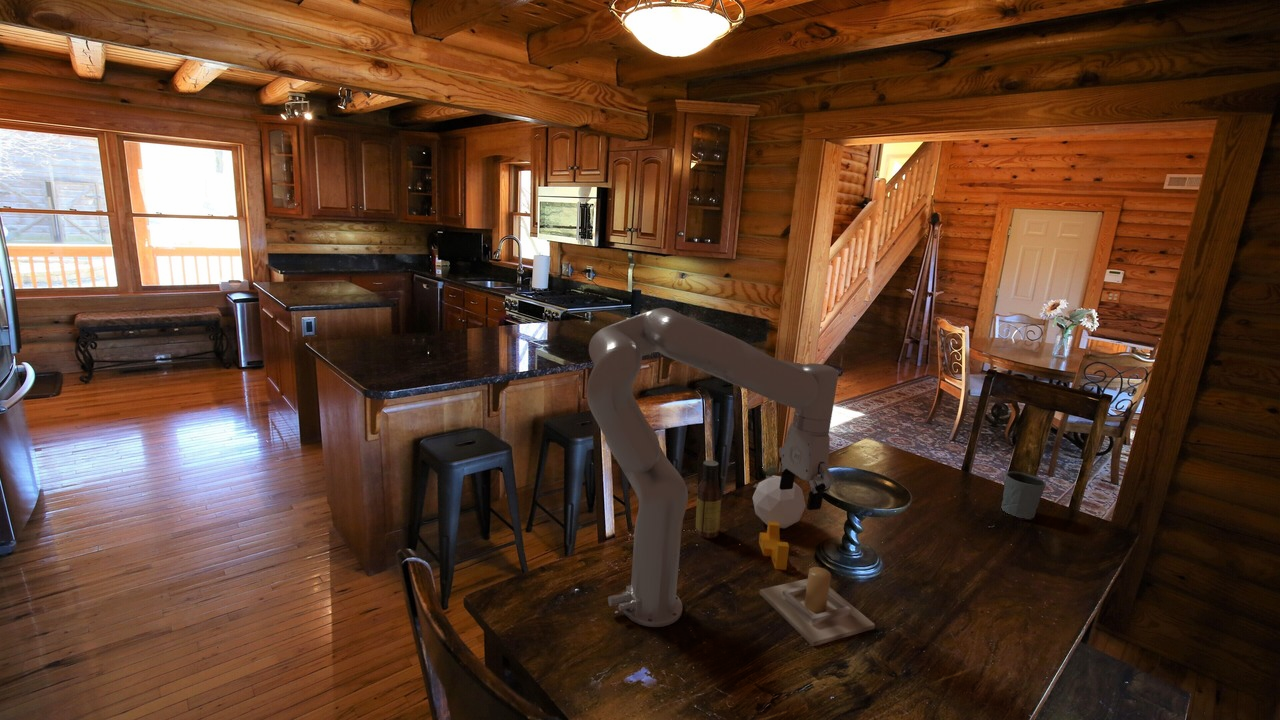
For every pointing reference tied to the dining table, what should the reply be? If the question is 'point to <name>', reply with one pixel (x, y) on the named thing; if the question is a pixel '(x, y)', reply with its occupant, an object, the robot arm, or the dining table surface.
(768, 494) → the geodesic sphere
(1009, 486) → the gray cup
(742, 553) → the dining table surface
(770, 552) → the orange blocky piece
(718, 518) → the sauce bottle
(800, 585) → the grey square framed plate
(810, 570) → the tan rounded oblong piece
